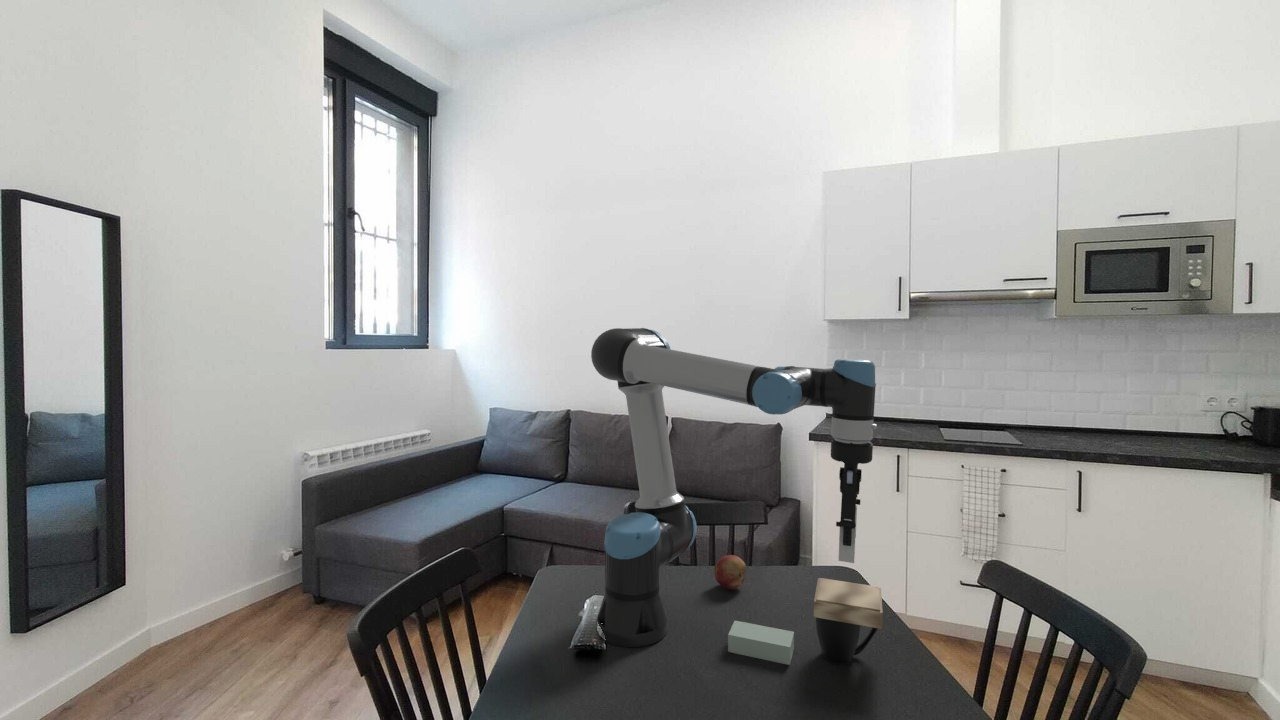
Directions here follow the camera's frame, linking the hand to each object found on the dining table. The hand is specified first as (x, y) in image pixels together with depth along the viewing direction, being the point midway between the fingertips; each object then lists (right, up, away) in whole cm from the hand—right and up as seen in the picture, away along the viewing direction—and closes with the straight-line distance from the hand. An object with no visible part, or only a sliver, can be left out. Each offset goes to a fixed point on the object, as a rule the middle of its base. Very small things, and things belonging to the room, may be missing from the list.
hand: (847, 548), depth 111 cm
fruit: (-18, -20, +31) cm, 41 cm away
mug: (0, -22, +1) cm, 22 cm away
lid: (0, -12, 0) cm, 12 cm away
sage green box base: (-16, -21, +3) cm, 27 cm away
